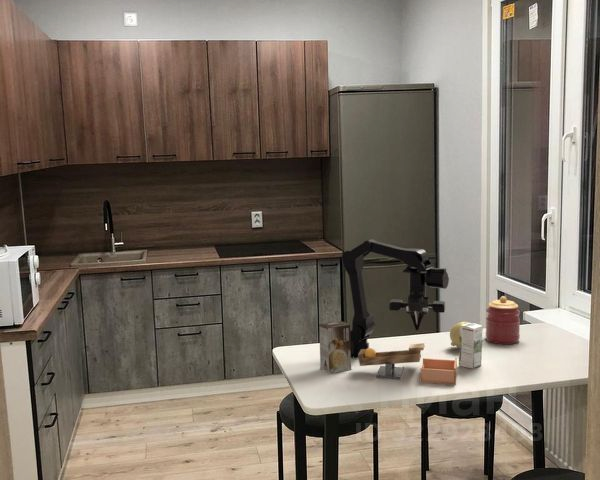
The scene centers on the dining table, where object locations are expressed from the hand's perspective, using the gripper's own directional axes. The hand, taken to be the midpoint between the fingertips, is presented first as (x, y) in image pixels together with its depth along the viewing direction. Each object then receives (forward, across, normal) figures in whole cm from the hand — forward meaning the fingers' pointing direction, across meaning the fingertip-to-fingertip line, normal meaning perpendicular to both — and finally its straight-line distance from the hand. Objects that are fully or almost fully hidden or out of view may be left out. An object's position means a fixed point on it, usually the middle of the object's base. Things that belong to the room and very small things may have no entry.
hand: (417, 329), depth 223 cm
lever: (+8, -8, -6) cm, 13 cm away
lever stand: (+13, -8, -11) cm, 19 cm away
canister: (+13, +30, +39) cm, 51 cm away
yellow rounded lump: (+13, +16, +24) cm, 32 cm away
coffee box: (+13, -27, -10) cm, 32 cm away
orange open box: (+13, +8, -11) cm, 19 cm away
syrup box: (+13, +18, +4) cm, 23 cm away
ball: (+6, -15, -11) cm, 19 cm away
